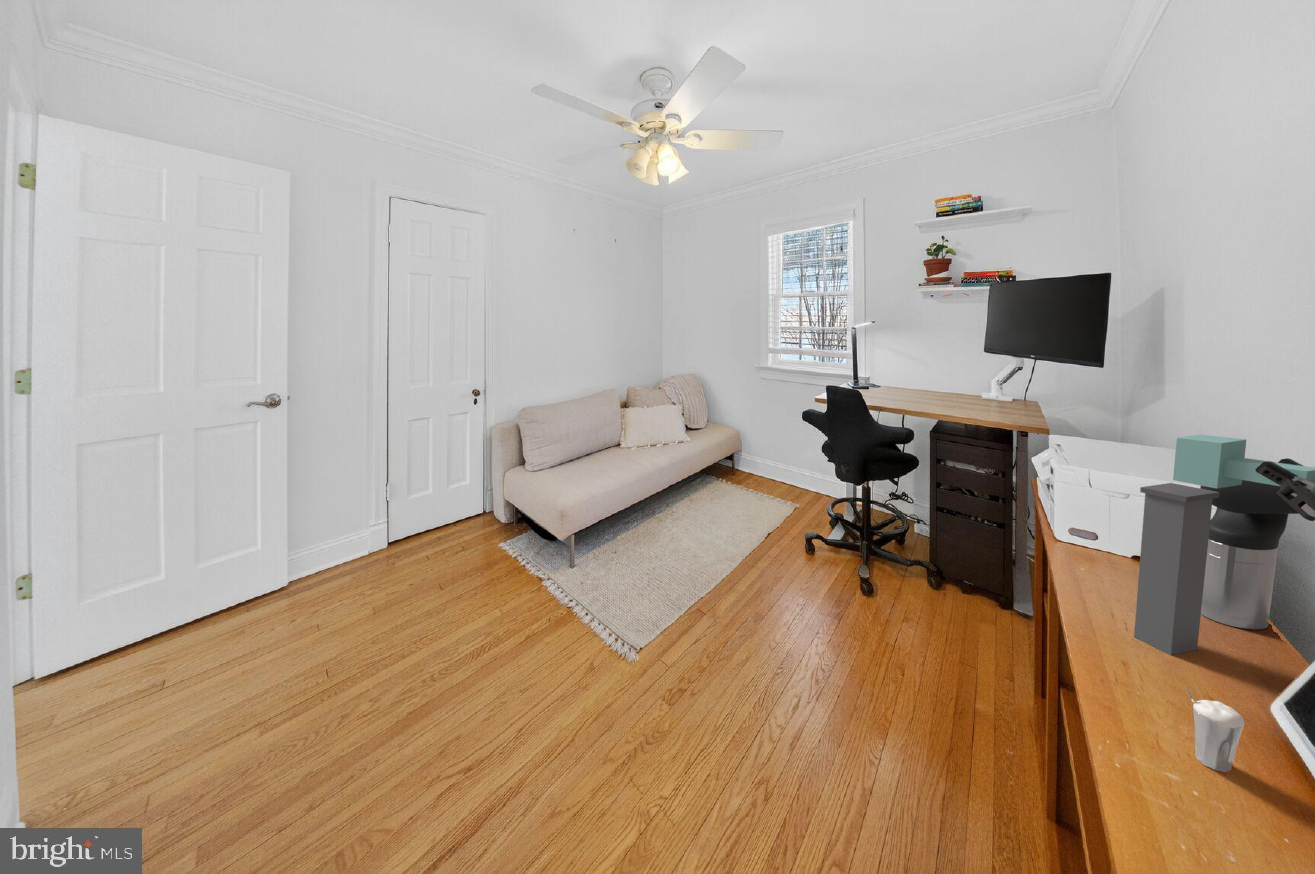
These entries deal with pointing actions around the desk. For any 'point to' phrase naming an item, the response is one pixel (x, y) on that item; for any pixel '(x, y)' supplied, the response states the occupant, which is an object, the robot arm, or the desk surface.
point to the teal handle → (1222, 463)
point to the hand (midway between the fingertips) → (1271, 464)
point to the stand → (1172, 566)
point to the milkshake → (1216, 733)
